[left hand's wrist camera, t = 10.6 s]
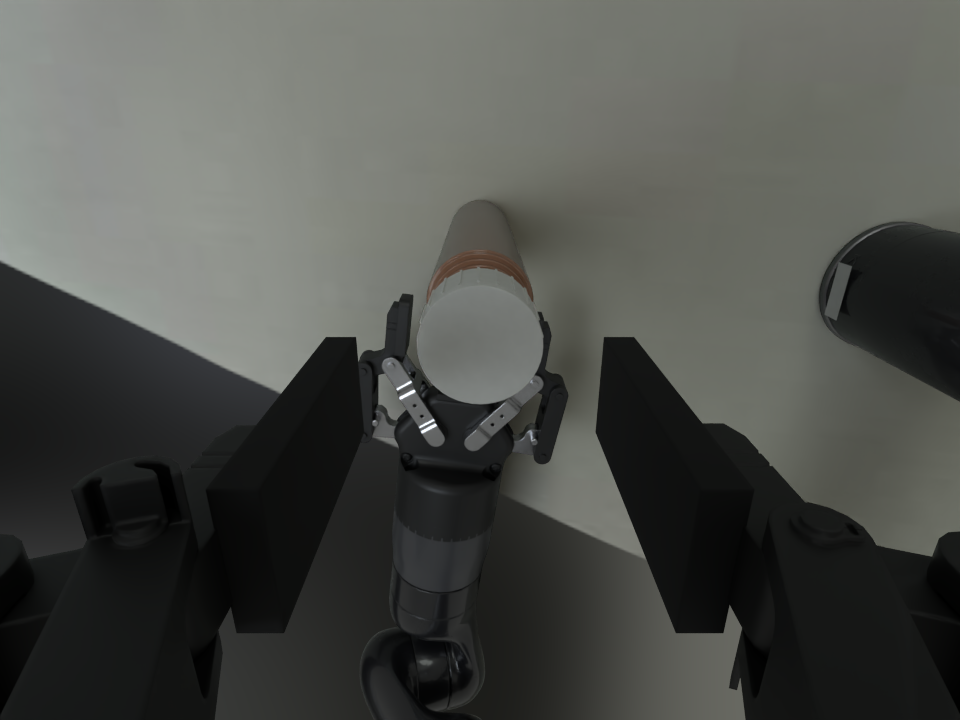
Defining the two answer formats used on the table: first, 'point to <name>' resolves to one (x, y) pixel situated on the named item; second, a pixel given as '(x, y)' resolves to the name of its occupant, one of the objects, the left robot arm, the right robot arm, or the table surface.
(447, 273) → the bottle
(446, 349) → the cap
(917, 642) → the left robot arm
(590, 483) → the table surface
